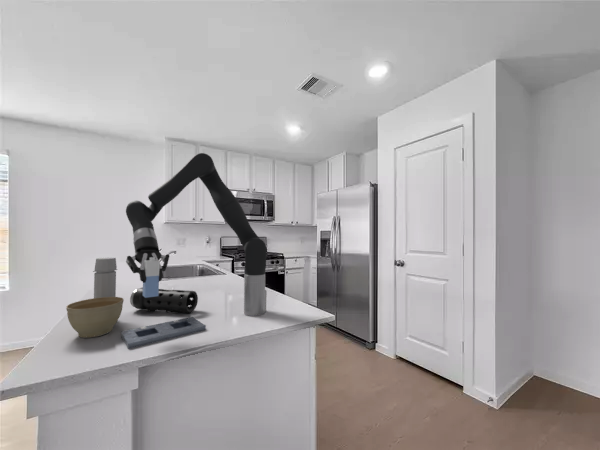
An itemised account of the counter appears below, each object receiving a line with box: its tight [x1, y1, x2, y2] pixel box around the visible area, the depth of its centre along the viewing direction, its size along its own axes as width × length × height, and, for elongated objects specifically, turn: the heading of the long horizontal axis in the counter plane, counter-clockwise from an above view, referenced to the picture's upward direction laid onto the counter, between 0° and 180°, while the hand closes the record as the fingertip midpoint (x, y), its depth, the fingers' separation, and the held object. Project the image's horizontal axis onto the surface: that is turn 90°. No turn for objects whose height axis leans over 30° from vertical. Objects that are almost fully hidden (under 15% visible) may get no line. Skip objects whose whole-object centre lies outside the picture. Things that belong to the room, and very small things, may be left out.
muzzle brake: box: [129, 286, 199, 314], centre depth 120 cm, size 10×28×10 cm, turn 78°
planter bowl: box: [65, 296, 125, 339], centre depth 95 cm, size 16×16×11 cm
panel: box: [120, 316, 207, 350], centre depth 94 cm, size 24×13×2 cm, turn 132°
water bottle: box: [92, 257, 118, 298], centre depth 108 cm, size 9×8×25 cm
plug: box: [142, 257, 161, 298], centre depth 92 cm, size 4×4×13 cm
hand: (152, 280), depth 91 cm, fingers closed on plug, 4 cm apart
